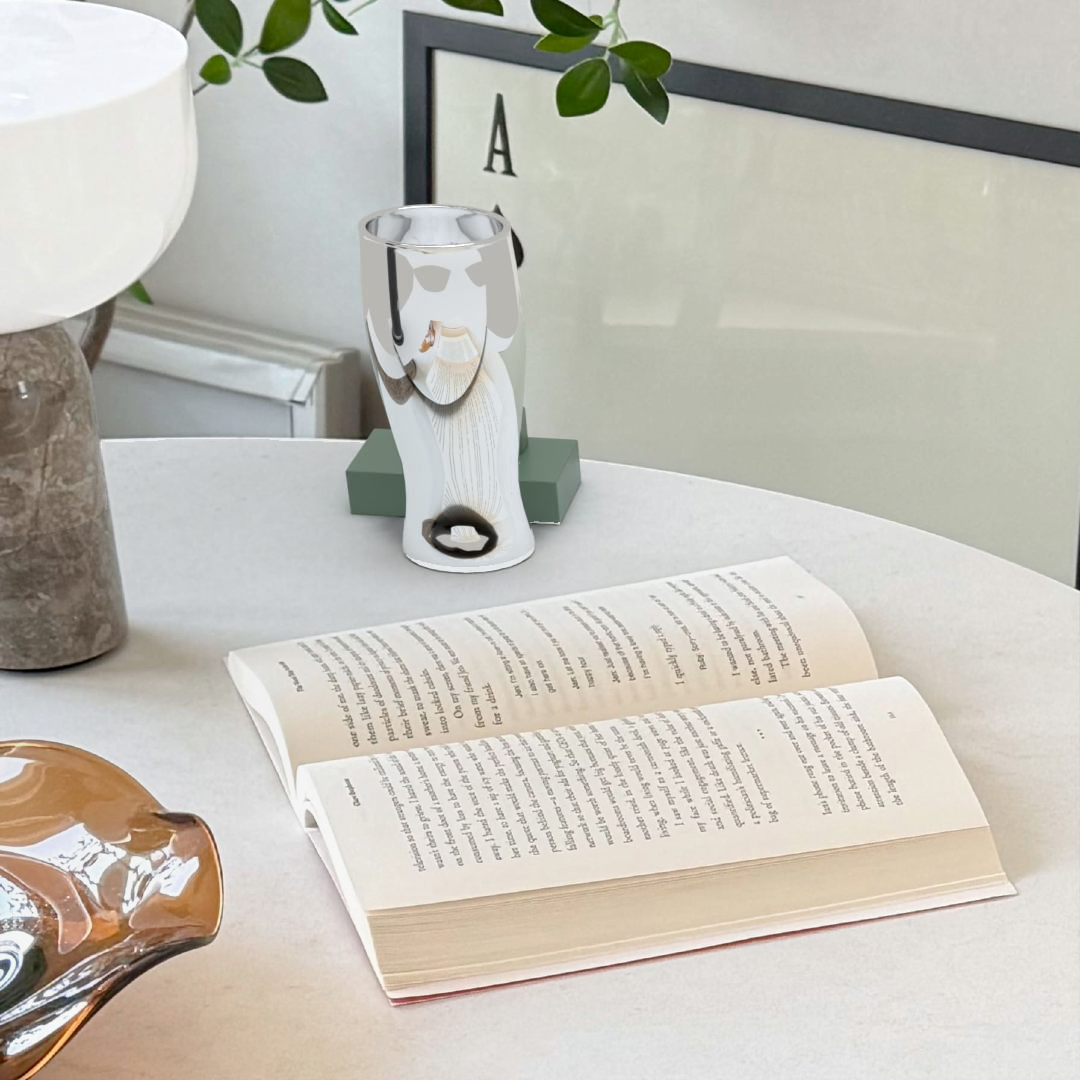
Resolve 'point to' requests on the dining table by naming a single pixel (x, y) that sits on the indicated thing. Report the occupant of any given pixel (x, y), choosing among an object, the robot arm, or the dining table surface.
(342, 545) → the dining table surface
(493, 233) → the beer glass
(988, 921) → the dining table surface
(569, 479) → the green block
